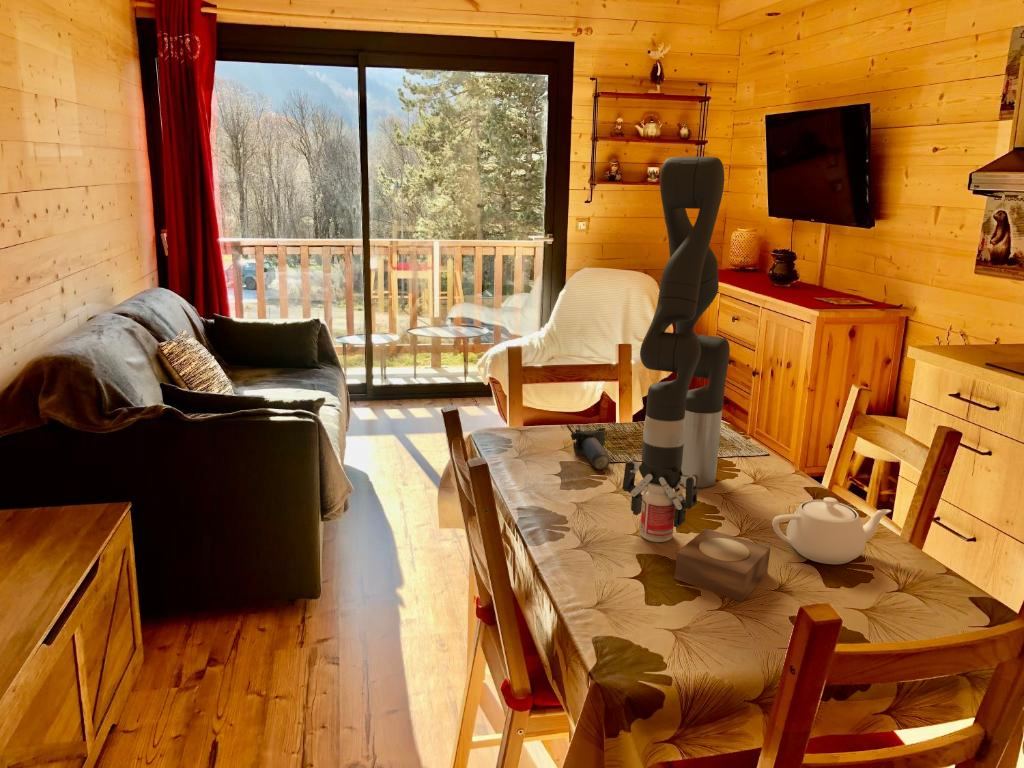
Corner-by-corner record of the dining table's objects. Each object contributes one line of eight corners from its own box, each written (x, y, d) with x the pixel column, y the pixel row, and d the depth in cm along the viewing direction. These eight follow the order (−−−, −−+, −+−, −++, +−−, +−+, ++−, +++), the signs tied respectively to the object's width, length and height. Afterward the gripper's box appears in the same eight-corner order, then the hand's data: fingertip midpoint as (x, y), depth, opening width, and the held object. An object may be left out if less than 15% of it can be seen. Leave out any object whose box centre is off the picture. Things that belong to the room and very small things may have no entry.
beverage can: (573, 458, 198) (589, 479, 187) (569, 430, 195) (585, 449, 184) (608, 450, 199) (625, 470, 188) (604, 421, 196) (622, 440, 185)
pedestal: (703, 553, 148) (705, 527, 146) (767, 573, 141) (770, 546, 140) (674, 578, 139) (676, 551, 137) (742, 601, 132) (745, 573, 130)
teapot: (783, 571, 142) (790, 515, 139) (756, 536, 155) (761, 484, 152) (903, 570, 144) (913, 514, 141) (866, 535, 157) (874, 484, 154)
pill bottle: (679, 538, 154) (683, 484, 151) (655, 546, 150) (659, 491, 147) (656, 526, 158) (660, 473, 156) (633, 533, 155) (636, 480, 152)
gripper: (707, 442, 148) (700, 523, 152) (638, 426, 156) (633, 503, 160) (690, 452, 142) (683, 537, 146) (619, 435, 150) (614, 516, 154)
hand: (656, 519), depth 153 cm, fingers open, 8 cm apart
